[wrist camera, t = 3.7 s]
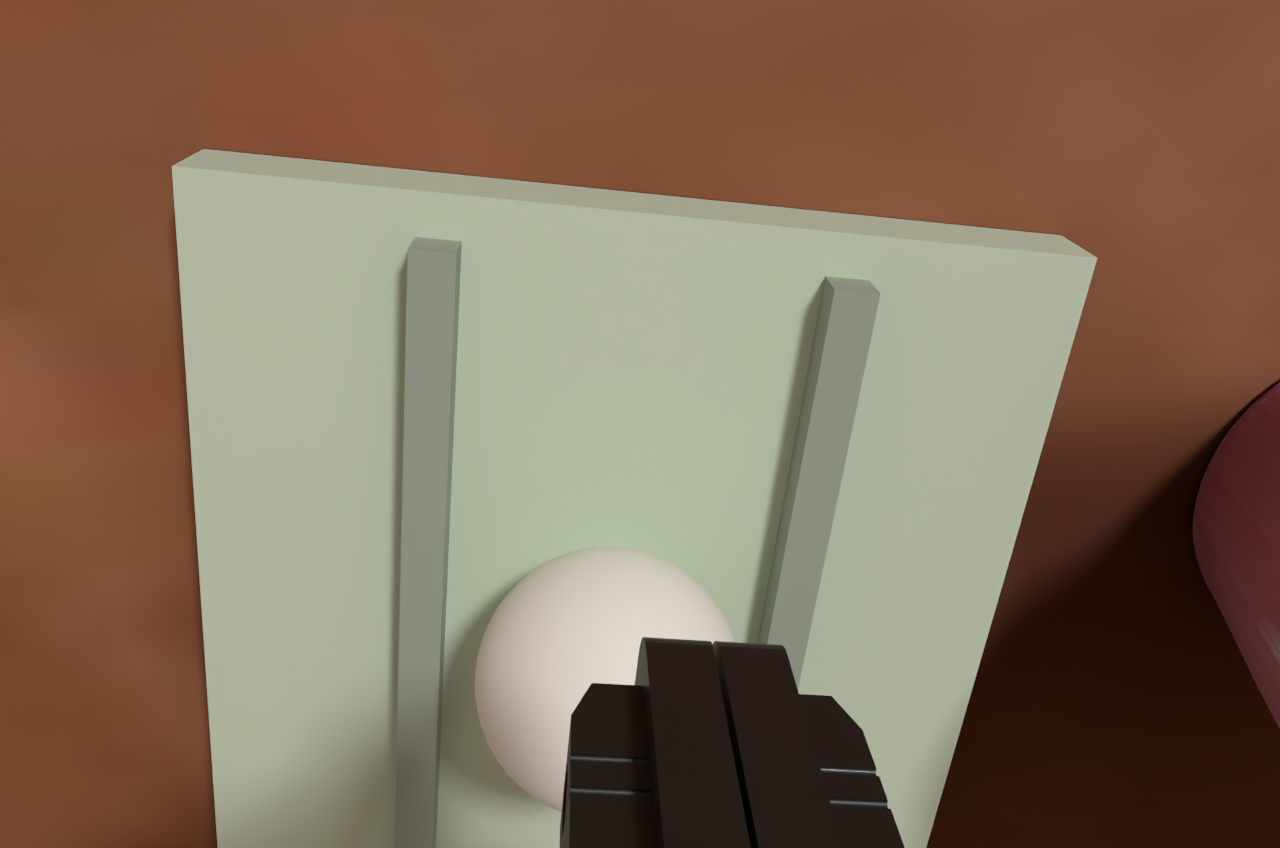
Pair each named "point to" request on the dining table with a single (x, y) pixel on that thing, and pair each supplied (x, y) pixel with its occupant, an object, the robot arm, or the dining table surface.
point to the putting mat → (583, 462)
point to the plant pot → (1246, 539)
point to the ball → (576, 650)
